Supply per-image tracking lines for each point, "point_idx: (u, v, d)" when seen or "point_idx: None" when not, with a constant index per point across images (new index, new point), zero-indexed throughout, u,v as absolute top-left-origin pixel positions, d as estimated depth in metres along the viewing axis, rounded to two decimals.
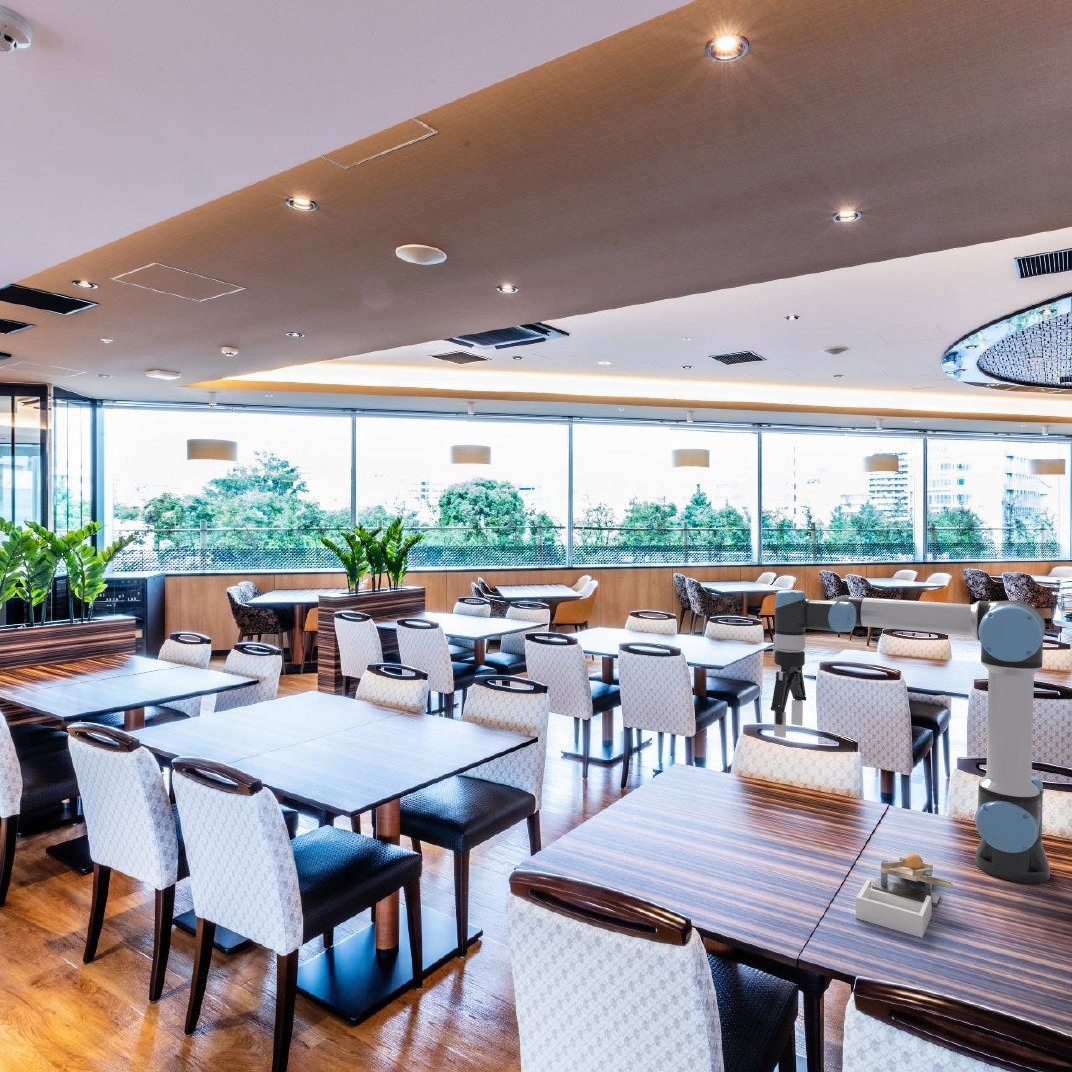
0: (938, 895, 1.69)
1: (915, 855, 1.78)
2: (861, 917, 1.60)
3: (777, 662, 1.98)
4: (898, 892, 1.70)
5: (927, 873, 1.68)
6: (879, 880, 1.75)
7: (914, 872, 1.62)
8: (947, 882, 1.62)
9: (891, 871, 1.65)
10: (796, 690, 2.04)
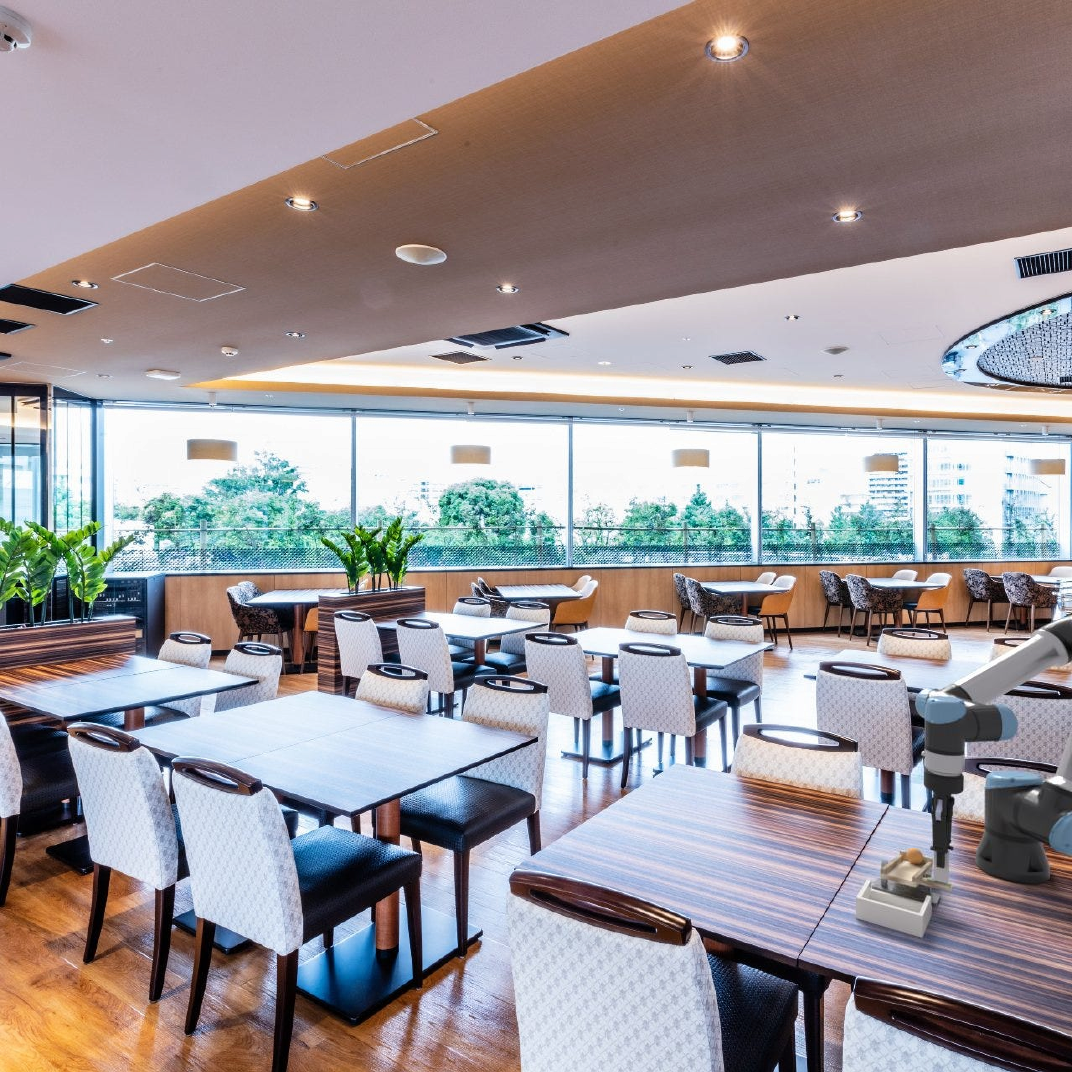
0: (938, 895, 1.69)
1: (915, 850, 1.78)
2: (861, 917, 1.60)
3: (929, 787, 1.62)
4: (898, 892, 1.70)
5: (927, 873, 1.68)
6: (879, 880, 1.75)
7: (913, 878, 1.62)
8: (947, 885, 1.62)
9: (891, 877, 1.64)
10: None
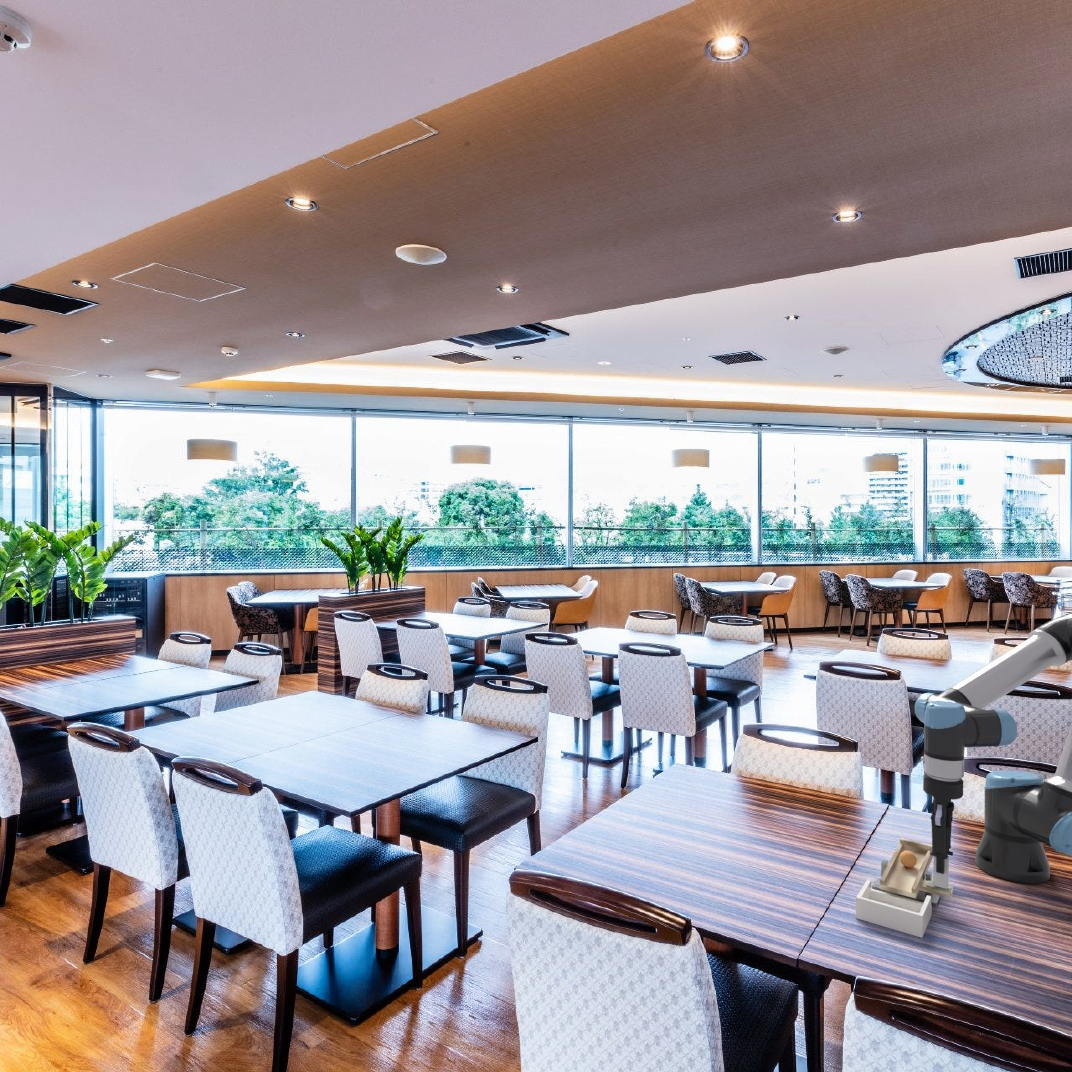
0: (938, 895, 1.69)
1: None
2: (861, 917, 1.60)
3: (929, 792, 1.61)
4: None
5: (927, 873, 1.68)
6: (879, 880, 1.75)
7: (913, 890, 1.62)
8: (946, 891, 1.62)
9: (890, 888, 1.64)
10: None
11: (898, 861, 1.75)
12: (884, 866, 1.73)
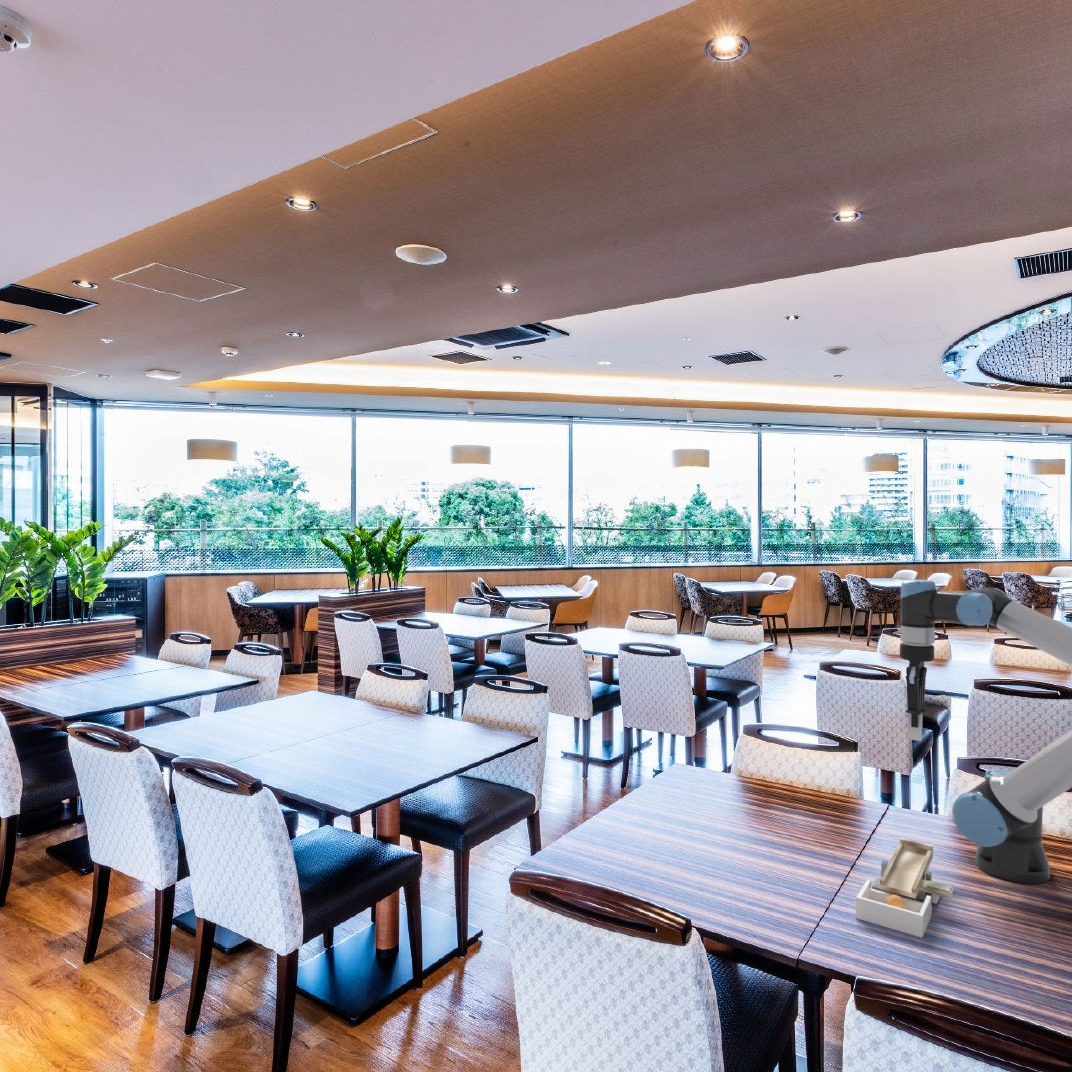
0: (938, 895, 1.69)
1: (896, 896, 1.61)
2: (861, 917, 1.60)
3: (904, 657, 1.85)
4: None
5: (927, 873, 1.68)
6: (879, 880, 1.75)
7: (913, 890, 1.62)
8: (946, 891, 1.62)
9: (890, 888, 1.64)
10: None
11: (898, 861, 1.75)
12: (884, 866, 1.73)
